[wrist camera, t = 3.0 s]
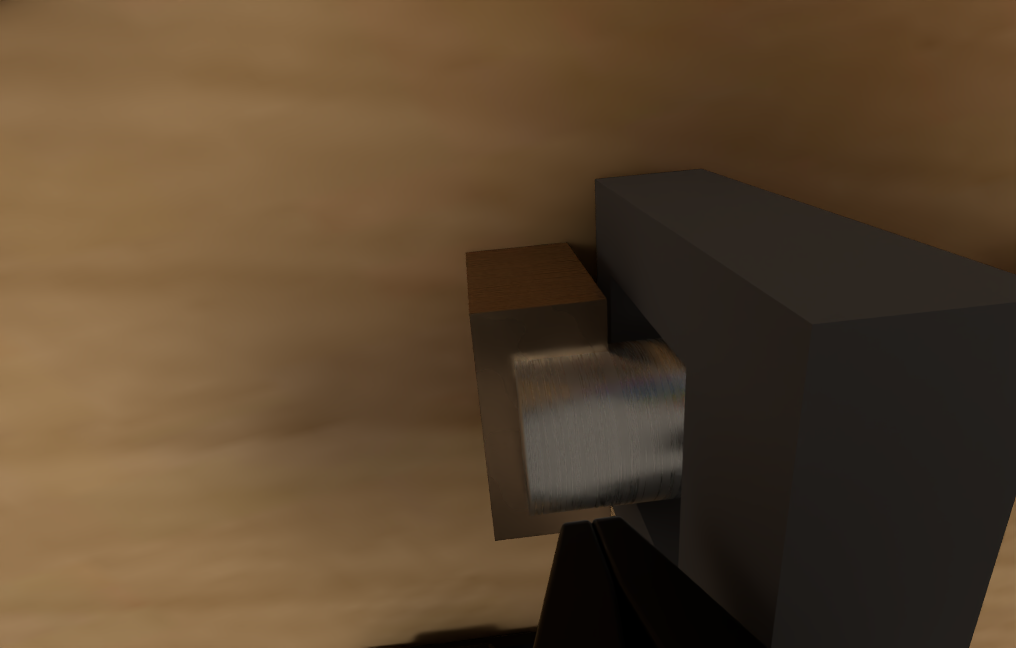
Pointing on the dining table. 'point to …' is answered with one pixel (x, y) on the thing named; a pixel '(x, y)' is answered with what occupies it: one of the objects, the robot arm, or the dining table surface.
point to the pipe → (567, 395)
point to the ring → (819, 409)
